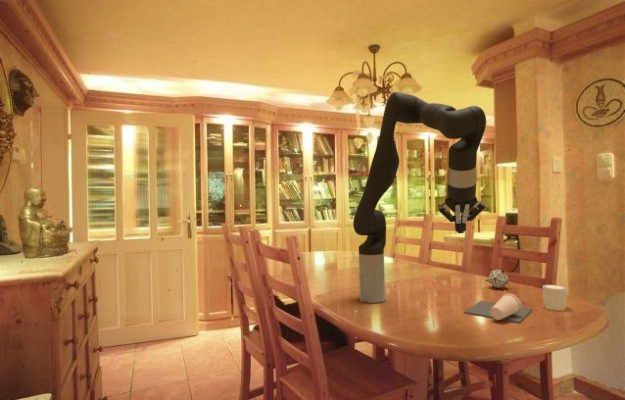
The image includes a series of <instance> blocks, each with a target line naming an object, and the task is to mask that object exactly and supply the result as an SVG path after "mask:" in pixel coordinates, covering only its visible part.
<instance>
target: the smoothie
mask: <svg viewBox="0 0 625 400" xmlns="http://www.w3.org/2000/svg"><path fill="white" fill-rule="evenodd" d="M495 303H496V304H495V305H494V306H493V307H492V308H491V310H490V314H491V316H492V317H493V318H494V320H496V321H500V319H503V318H505V317H508V316H510V315H514V314H517V313H519V312H520V310H521V308H522V307H523V306H522V302H521V300H520V298H518V296H516V295H515V294H513V293H504V294H502V295H501V296H500V297H499V299H498V300H497V302H495ZM493 318H492V319H493Z"/></svg>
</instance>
